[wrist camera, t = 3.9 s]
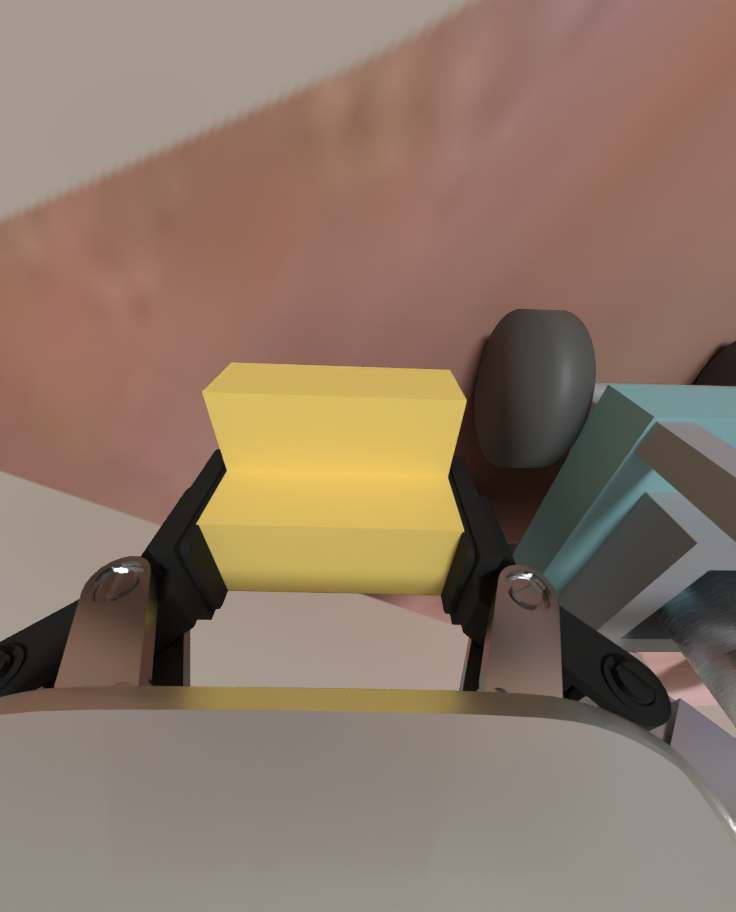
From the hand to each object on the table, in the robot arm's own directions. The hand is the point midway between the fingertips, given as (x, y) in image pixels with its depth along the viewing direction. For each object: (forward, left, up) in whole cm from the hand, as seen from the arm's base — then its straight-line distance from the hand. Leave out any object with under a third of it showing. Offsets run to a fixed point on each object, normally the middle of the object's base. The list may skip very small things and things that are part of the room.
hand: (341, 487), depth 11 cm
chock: (+1, 0, -1) cm, 2 cm away
